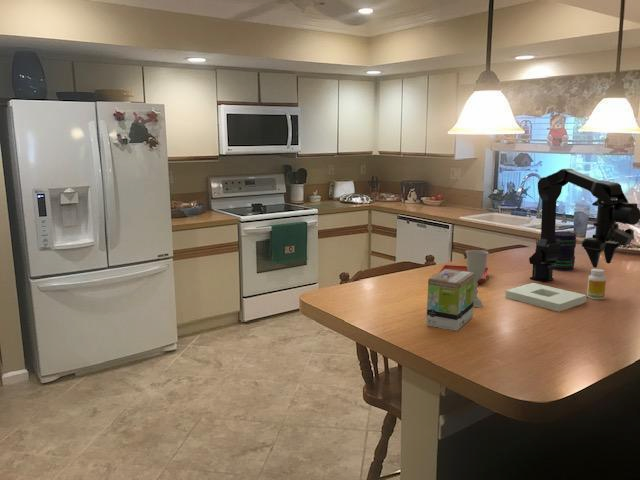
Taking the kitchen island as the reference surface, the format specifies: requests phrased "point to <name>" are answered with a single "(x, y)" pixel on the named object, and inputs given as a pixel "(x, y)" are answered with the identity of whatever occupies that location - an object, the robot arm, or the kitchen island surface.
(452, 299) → the tea box
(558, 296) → the socket board
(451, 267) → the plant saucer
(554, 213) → the robot arm
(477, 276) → the chalice
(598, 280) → the supplement bottle
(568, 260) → the storage jar
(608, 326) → the kitchen island surface
